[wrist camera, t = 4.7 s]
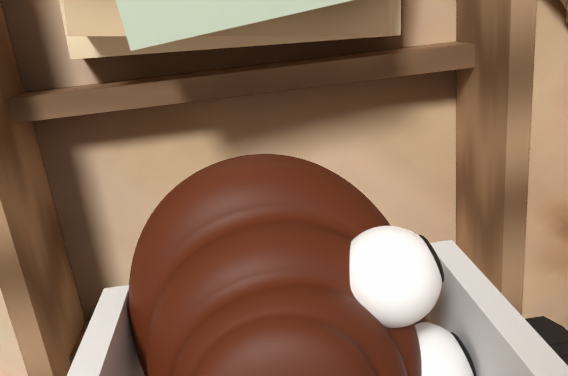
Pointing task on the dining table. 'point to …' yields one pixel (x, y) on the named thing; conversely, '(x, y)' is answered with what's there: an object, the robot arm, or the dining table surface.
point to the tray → (261, 79)
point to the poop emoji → (284, 280)
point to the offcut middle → (318, 22)
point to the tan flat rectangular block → (197, 40)
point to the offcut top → (200, 16)
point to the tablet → (567, 2)
